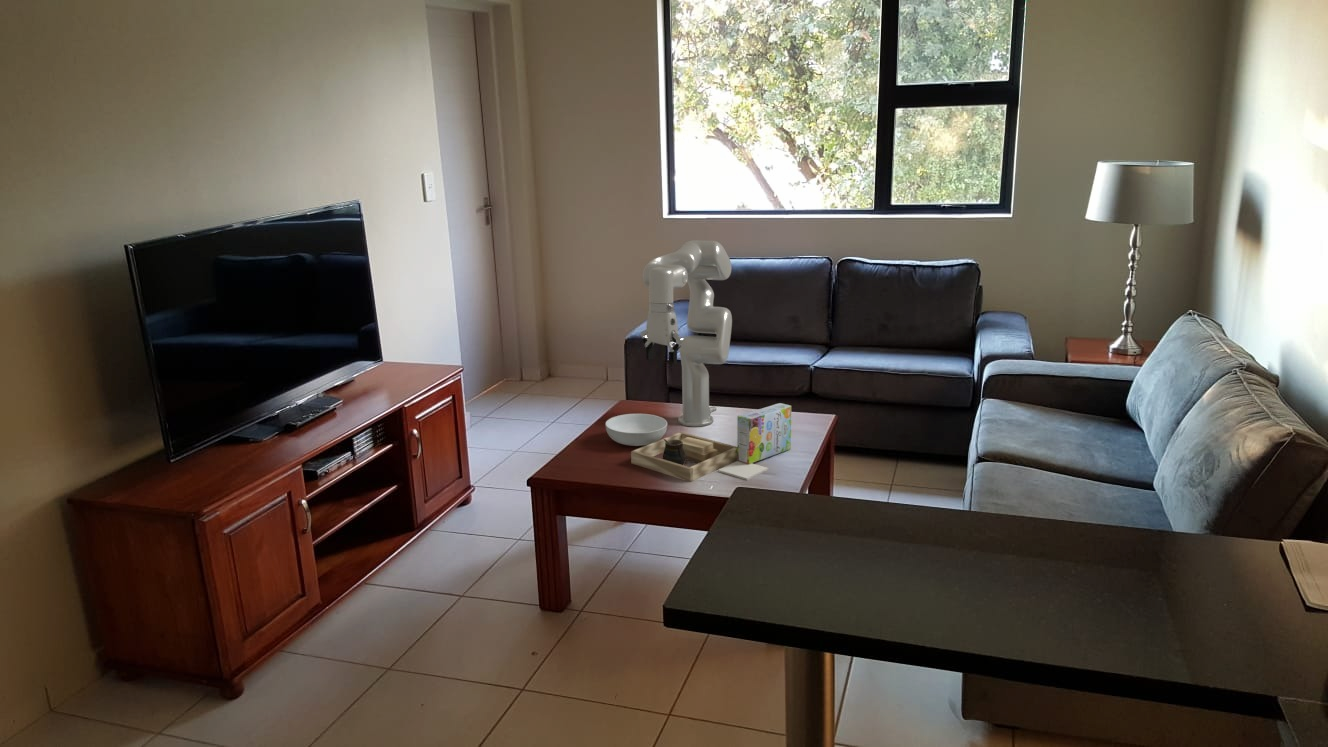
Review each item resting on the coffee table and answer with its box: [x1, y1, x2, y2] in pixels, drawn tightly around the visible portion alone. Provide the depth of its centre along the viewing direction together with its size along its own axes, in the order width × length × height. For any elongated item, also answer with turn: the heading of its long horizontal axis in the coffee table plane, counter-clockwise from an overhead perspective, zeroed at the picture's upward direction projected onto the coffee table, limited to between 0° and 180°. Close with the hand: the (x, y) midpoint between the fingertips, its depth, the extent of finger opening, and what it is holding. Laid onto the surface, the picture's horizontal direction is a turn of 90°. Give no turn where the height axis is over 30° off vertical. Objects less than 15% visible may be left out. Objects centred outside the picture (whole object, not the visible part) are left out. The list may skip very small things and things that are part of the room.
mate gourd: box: [662, 438, 686, 466], centre depth 282 cm, size 7×8×10 cm
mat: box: [717, 461, 769, 481], centre depth 278 cm, size 11×11×1 cm
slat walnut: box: [685, 455, 703, 464], centre depth 291 cm, size 7×14×2 cm, turn 48°
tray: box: [630, 431, 737, 483], centre depth 286 cm, size 24×24×4 cm
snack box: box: [736, 402, 792, 464], centre depth 289 cm, size 21×6×15 cm, turn 135°
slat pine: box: [681, 437, 713, 454], centre depth 289 cm, size 6×10×2 cm, turn 53°
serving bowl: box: [604, 413, 668, 447], centre depth 305 cm, size 21×21×7 cm
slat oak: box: [683, 449, 718, 461], centre depth 290 cm, size 6×12×2 cm, turn 45°
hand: (661, 361), depth 285 cm, fingers open, 9 cm apart
